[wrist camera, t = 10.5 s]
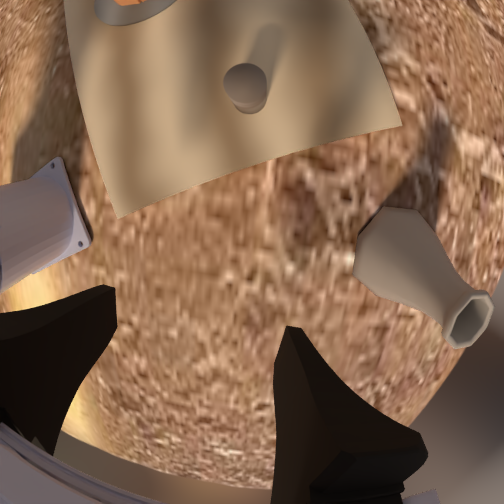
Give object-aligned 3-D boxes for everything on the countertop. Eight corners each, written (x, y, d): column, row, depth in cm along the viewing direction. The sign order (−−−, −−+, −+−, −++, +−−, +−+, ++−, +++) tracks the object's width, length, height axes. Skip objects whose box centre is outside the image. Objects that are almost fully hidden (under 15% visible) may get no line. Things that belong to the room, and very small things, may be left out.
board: (127, 214, 19) (86, 235, 14) (72, 3, 13) (38, -16, 7) (393, 127, 16) (434, 120, 11) (281, -77, 10) (283, -113, 4)
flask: (376, 188, 18) (465, 223, 8) (445, 227, 18) (532, 276, 9) (335, 279, 20) (381, 372, 11) (407, 305, 21) (466, 383, 11)
